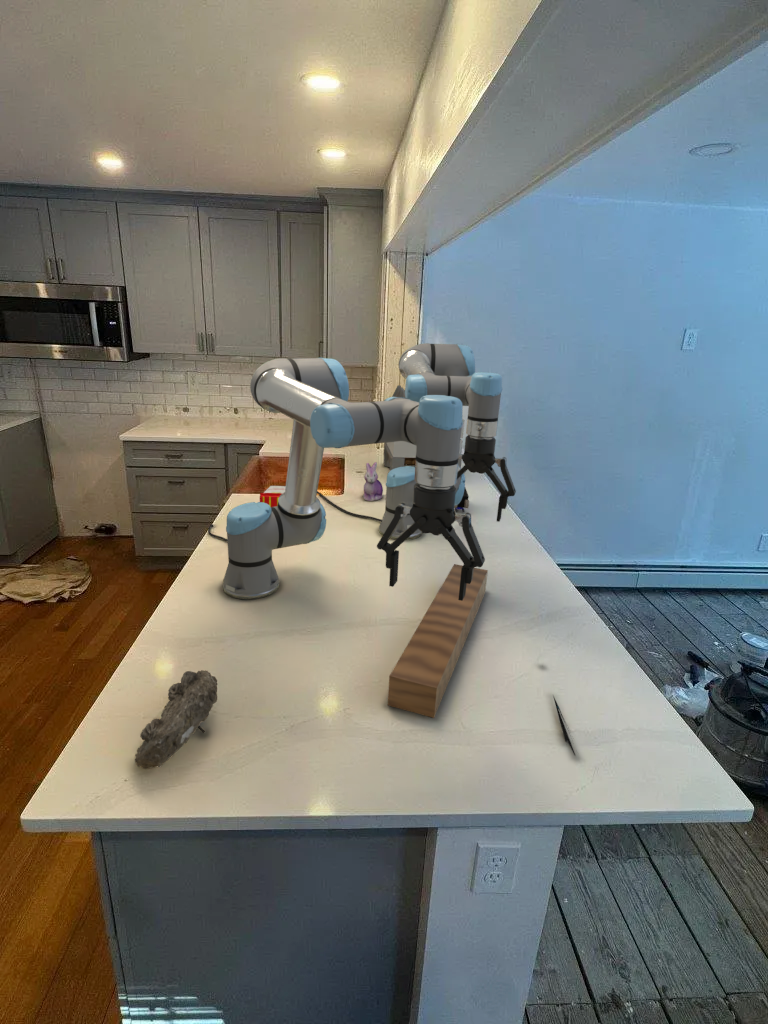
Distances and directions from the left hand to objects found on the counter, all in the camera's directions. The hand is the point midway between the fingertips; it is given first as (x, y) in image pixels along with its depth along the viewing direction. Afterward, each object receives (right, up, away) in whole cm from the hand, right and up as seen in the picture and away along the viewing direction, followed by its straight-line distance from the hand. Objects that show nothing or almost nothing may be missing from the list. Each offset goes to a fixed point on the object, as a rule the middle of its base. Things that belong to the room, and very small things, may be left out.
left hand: (426, 590), depth 108 cm
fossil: (-45, -25, -4) cm, 52 cm away
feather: (+27, -25, +6) cm, 37 cm away
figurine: (-13, +21, +127) cm, 130 cm away
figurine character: (+22, +17, +120) cm, 123 cm away
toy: (-47, +13, +101) cm, 112 cm away
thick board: (+7, -16, +29) cm, 33 cm away
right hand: (+15, +14, +41) cm, 46 cm away
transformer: (+9, +34, +166) cm, 170 cm away
